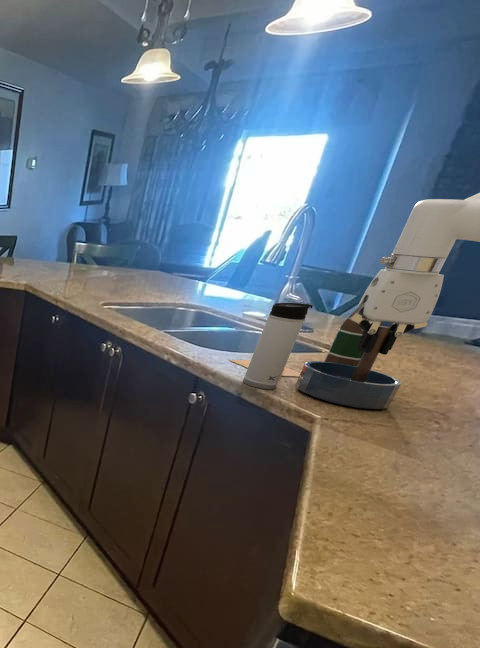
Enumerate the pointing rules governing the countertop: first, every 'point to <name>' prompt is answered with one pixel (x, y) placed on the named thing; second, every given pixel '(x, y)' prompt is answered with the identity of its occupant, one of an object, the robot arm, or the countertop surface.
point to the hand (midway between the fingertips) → (371, 351)
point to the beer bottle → (346, 344)
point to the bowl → (347, 385)
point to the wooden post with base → (370, 355)
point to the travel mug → (275, 344)
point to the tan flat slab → (285, 373)
